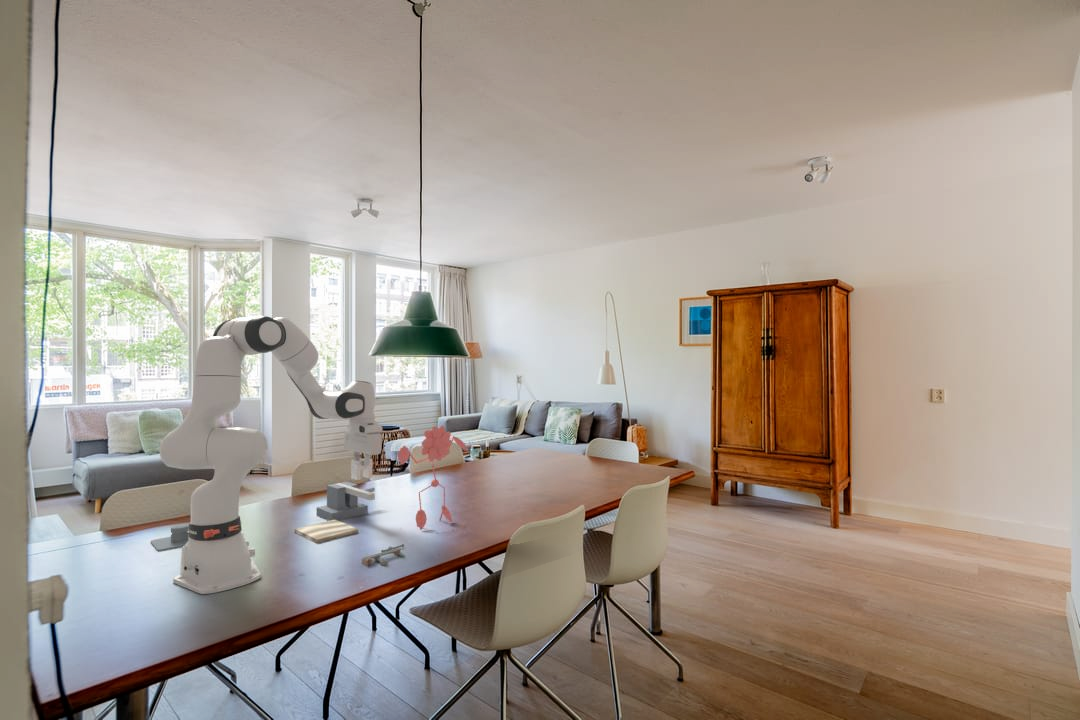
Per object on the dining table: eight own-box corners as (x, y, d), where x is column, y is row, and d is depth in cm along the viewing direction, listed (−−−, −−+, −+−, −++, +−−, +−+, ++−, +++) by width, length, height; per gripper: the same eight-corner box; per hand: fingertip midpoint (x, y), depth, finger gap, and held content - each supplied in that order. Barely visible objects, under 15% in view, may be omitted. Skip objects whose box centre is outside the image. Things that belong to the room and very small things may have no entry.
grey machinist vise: (404, 517, 192) (404, 487, 192) (353, 530, 177) (353, 498, 177) (365, 504, 210) (365, 477, 210) (316, 515, 195) (316, 485, 195)
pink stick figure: (393, 530, 177) (393, 427, 178) (457, 515, 195) (457, 421, 195) (415, 541, 166) (415, 431, 166) (482, 525, 183) (482, 425, 184)
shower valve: (215, 524, 168) (158, 535, 158) (215, 541, 168) (157, 553, 158) (204, 516, 177) (150, 526, 166) (204, 532, 177) (149, 543, 166)
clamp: (371, 563, 144) (355, 553, 151) (371, 571, 144) (355, 561, 151) (419, 549, 154) (402, 541, 161) (419, 557, 154) (402, 548, 161)
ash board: (358, 532, 175) (358, 528, 175) (316, 543, 165) (316, 539, 165) (334, 522, 186) (334, 519, 186) (294, 532, 176) (294, 528, 176)
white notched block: (372, 477, 188) (372, 459, 188) (356, 480, 184) (356, 461, 184) (366, 476, 191) (366, 458, 191) (351, 478, 186) (351, 460, 186)
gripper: (339, 424, 192) (339, 462, 192) (368, 428, 178) (368, 469, 178) (355, 423, 197) (355, 460, 196) (385, 427, 183) (385, 467, 183)
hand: (361, 465), depth 187 cm, fingers closed on white notched block, 4 cm apart
